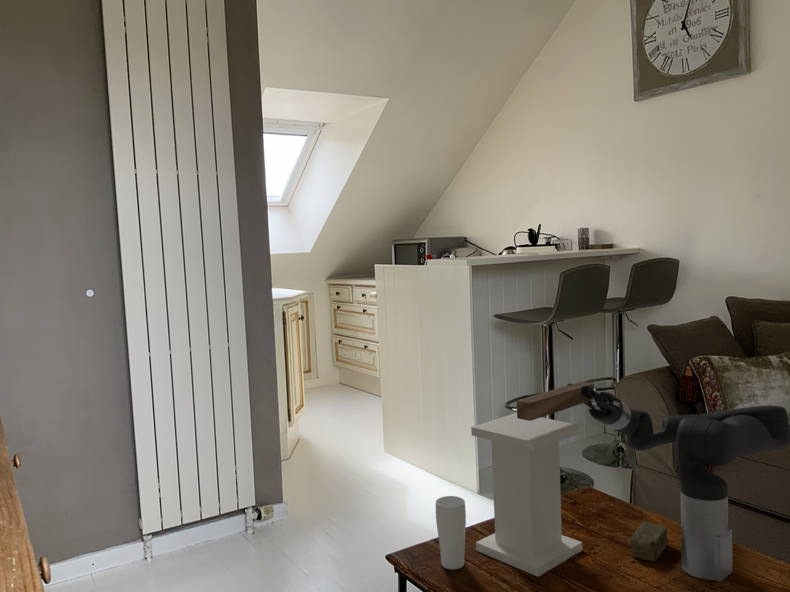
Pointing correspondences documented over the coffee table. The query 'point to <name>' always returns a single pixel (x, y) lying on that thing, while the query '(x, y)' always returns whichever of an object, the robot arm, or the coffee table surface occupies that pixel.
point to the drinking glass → (451, 530)
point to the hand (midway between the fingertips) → (575, 388)
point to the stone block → (649, 541)
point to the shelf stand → (527, 493)
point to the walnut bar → (551, 401)
